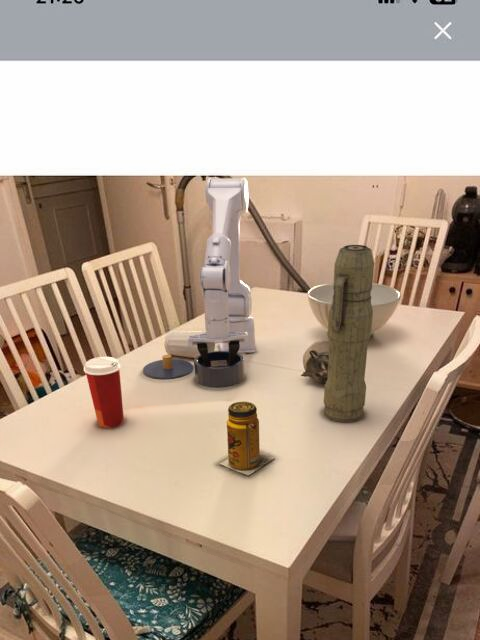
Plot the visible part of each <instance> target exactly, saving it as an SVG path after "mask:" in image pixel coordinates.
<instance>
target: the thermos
mask: <svg viewBox="0 0 480 640" xmlns="http://www.w3.org/2000/svg"><path fill="white" fill-rule="evenodd" d="M372 250H373V249H372V248H371V247H369V246H367V245H363V244H348V245H343V247H341V248H339V250H338V253H337V255H336V258H335V262H334V267H333V268H334V269H333V283H334V284H333V289H334V295H333V301H332V304H331V307H330V310H329V319H328V330H327V338H328V340H330V344H329V362H328V379H327V382H325V384H324V390H323V405H324V410H323V415H324V417H326V419H328V420H330V421H334V422H337V423H352V422H357V421H359V420H361V419H362V418H363V417H364V407H365V404H366V396H367V395H366V394H367V383H366V381H365V377H366V368H367V367H366V366H367V357H368V356H367V355H368V346H369V345H368V344H369V341H370V339H371V337H372V335H371V328H372V317H373V309H372V304H371V295H370V294H371V290H372V284H373V283H374V270H375V260H374V259H375V258H374V255H373V251H372Z"/></svg>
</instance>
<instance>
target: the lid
mask: <svg viewBox="0 0 480 640" xmlns="http://www.w3.org/2000/svg"><path fill="white" fill-rule="evenodd" d="M172 356H173V355H168V354H163V355H162V356H161V358H162V359H160V360H154V361H152V362H149V363H147V364H146V365H144V366H143V368H142V373H143V375H145V377H148V378H151V379H155V380H174V379H179V378H182V377H185V376H188V375H189V374H191V373H192V372H193V371H194V364H192V362H190V361H188V360H184V359H178V358H173V357H172Z"/></svg>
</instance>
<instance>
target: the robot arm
mask: <svg viewBox="0 0 480 640" xmlns="http://www.w3.org/2000/svg"><path fill="white" fill-rule="evenodd" d="M248 184H249V183H248V180H247V179H246V177H236V178H235V177H233V178H212V177H209V178H208V179H207V180H206V182H205V189H204V190H205V191H204V192H205V200H206V204H207V205H208V208H209V210H210V211H211V212H212V233H211V234H212V235H210V236H208V238H207V240H206V245H205V253H204V254H205V255H204V260H203V261H204V263H203V267H202V266H201V267H200V269H199V287H200V292H201V298H202V300H203V308H204V324H205V331H206V333H205V334H199V335H193V336H188V344H189V346H193V345H197V349H198V351H199V353H200V355H201V357H202V359H203V361H204V363H205V366H206V367H209V363H208V348H207V344H215V345H216V344H219V348H220V351H229V366H232V365H233V364H234V360H235V357H236V355H237V353H238V354H239V353H245V354H248V353H255V352H256V345H255V344H256V336H255V335H256V334H255V332H256V331H255V320H254V318H253V317H252V316H251V315H252V309H253V300H252V292H251V291H252V290H251V288H250V287H249V286H248V285H247V284H245V283H244V282H243V281H242V280H241V229H240V227H241V225H240V224H241V218H242V216H243V215H245V214H247V213H248V209H249V185H248Z"/></svg>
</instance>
